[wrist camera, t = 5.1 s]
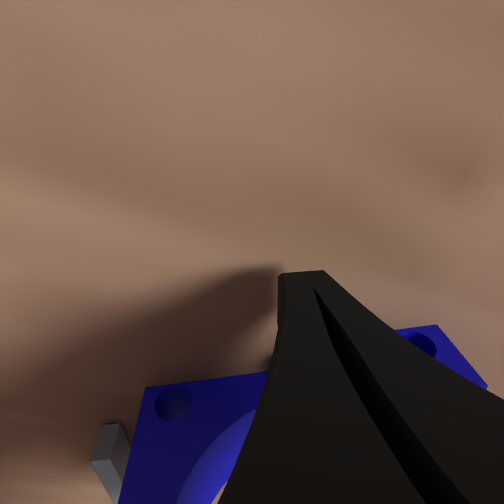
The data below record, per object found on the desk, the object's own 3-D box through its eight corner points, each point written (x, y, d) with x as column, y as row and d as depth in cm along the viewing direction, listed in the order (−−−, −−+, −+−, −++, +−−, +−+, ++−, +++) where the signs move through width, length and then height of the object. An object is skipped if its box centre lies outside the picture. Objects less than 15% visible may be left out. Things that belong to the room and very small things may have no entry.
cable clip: (434, 321, 13) (578, 494, 8) (414, 391, 15) (515, 560, 10) (136, 359, 12) (75, 566, 7) (163, 424, 15) (131, 617, 10)
